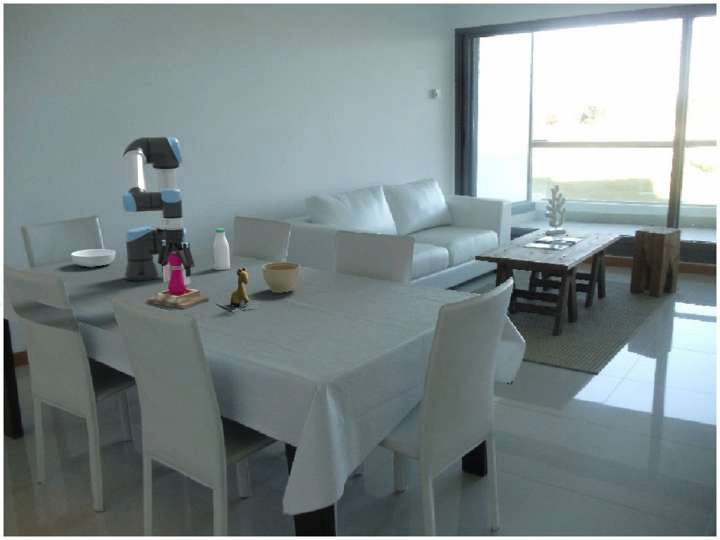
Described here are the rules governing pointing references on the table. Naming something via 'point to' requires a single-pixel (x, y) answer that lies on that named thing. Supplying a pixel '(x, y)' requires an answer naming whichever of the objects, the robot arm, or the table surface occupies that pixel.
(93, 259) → the serving bowl
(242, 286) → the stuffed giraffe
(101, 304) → the table surface
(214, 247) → the milk bottle
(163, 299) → the holder board
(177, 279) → the pepper mill
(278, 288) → the planter bowl
